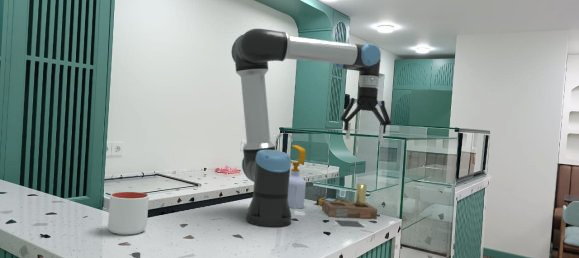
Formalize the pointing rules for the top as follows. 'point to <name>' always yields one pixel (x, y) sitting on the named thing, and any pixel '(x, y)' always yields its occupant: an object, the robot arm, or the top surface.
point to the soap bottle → (297, 183)
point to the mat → (349, 223)
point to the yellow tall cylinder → (360, 195)
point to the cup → (128, 212)
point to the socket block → (348, 210)
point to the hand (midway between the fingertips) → (363, 140)
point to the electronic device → (320, 200)
